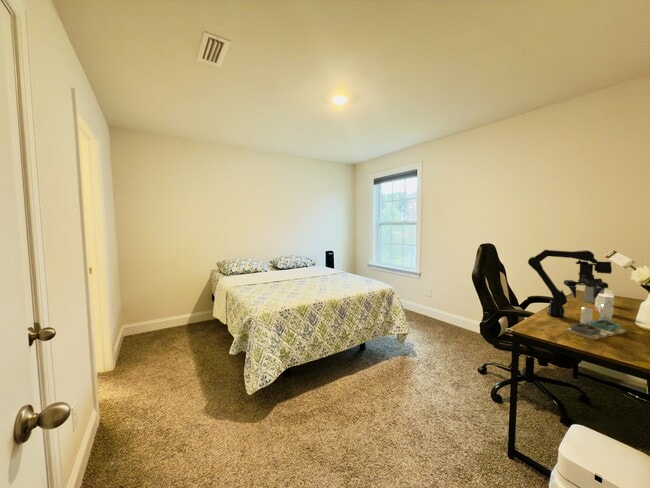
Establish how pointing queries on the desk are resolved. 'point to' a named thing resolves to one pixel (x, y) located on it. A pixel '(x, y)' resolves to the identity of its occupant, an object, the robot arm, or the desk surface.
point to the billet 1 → (586, 318)
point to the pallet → (596, 330)
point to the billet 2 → (605, 314)
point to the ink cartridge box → (604, 300)
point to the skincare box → (590, 294)
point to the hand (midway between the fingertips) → (584, 298)
